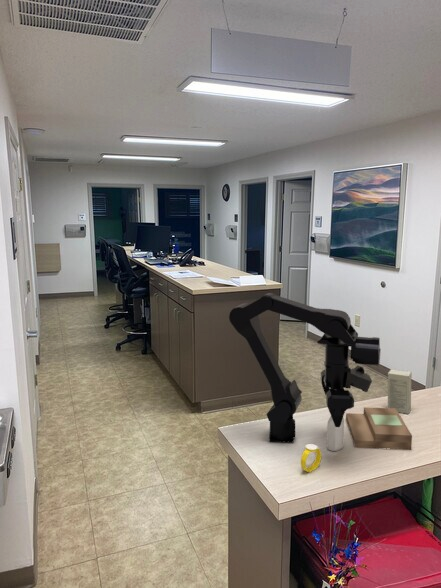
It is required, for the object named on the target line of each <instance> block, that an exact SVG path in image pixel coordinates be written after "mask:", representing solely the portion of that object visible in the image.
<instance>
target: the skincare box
mask: <svg viewBox="0 0 441 588" xmlns="http://www.w3.org/2000/svg"><path fill="white" fill-rule="evenodd" d="M387 408H396V410H397V411H398V413H399V414H400V413H402V414H407V415H409V413H410V411H411V409H412V371H408V370H400V369H393V368H390V370H389V371H388V372H387Z"/></svg>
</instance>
